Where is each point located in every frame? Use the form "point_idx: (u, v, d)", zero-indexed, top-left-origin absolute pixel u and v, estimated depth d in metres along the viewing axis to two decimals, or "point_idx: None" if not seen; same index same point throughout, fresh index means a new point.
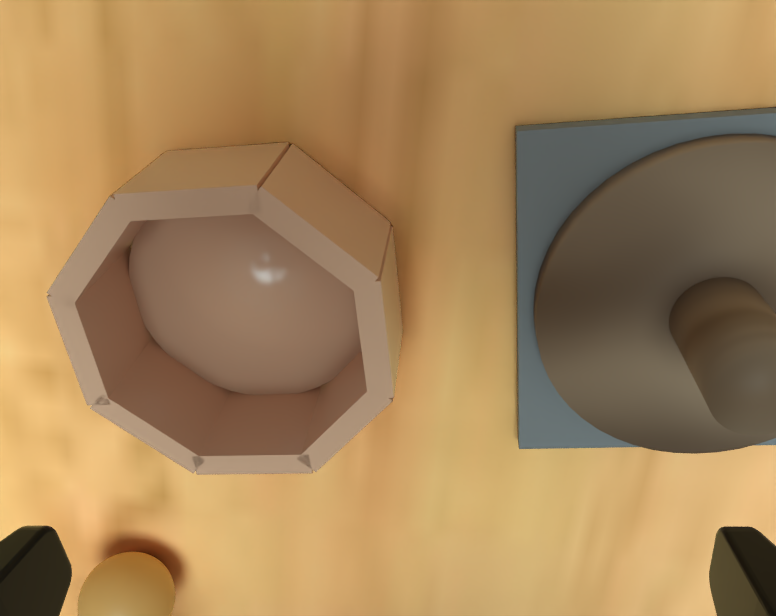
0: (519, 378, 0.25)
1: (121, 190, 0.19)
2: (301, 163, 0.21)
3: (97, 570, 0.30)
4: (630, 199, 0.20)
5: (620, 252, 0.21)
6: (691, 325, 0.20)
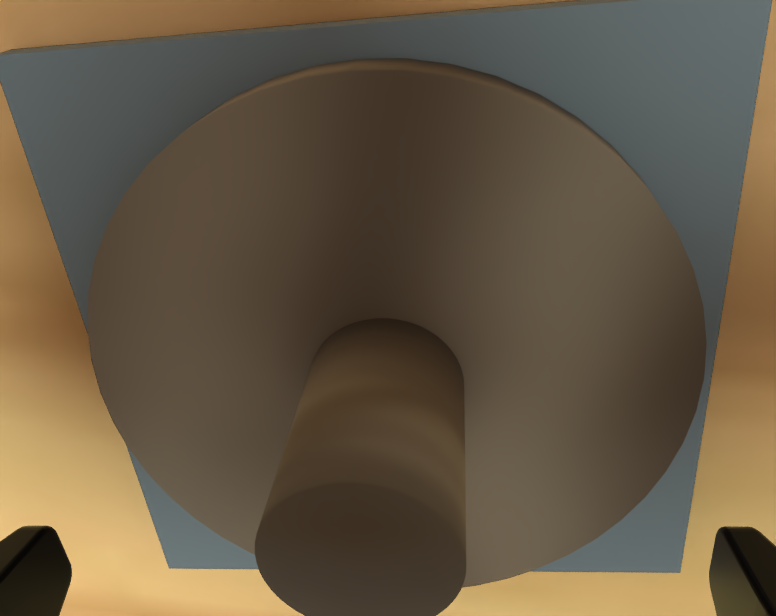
0: (535, 569, 0.16)
1: None
2: None
3: None
4: (205, 502, 0.15)
5: None
6: None
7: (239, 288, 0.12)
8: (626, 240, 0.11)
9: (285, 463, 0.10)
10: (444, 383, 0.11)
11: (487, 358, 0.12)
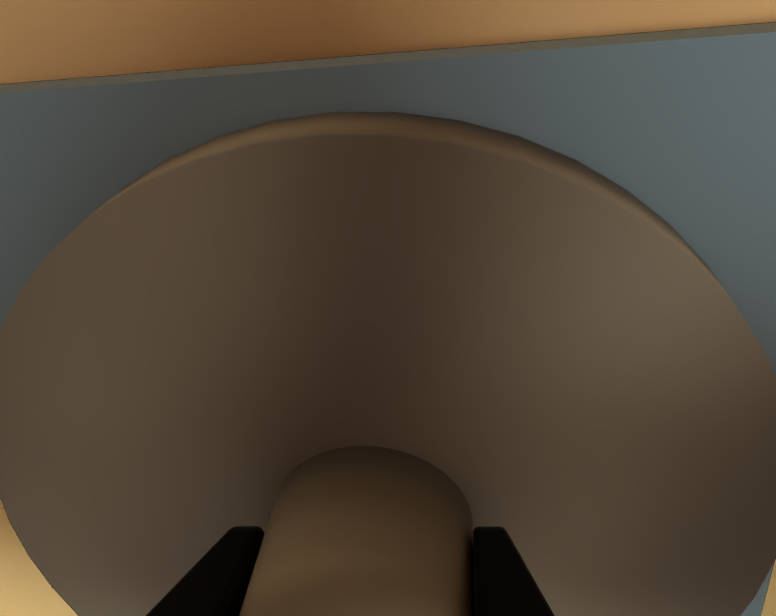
0: None
1: None
2: None
3: None
4: None
5: None
6: None
7: (179, 407, 0.09)
8: (694, 357, 0.08)
9: None
10: (447, 546, 0.08)
11: (503, 496, 0.09)
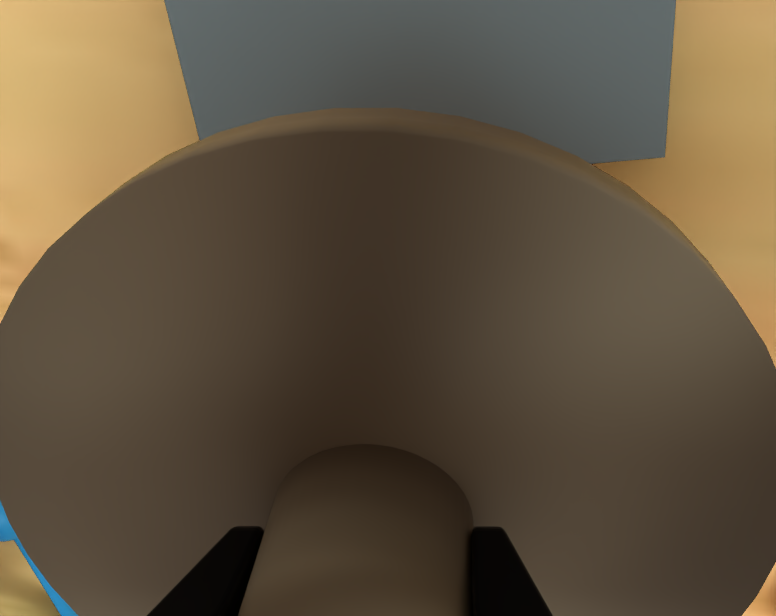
0: None
1: None
2: None
3: None
4: None
5: None
6: None
7: (178, 405, 0.09)
8: (695, 355, 0.08)
9: None
10: (448, 545, 0.08)
11: (504, 494, 0.09)
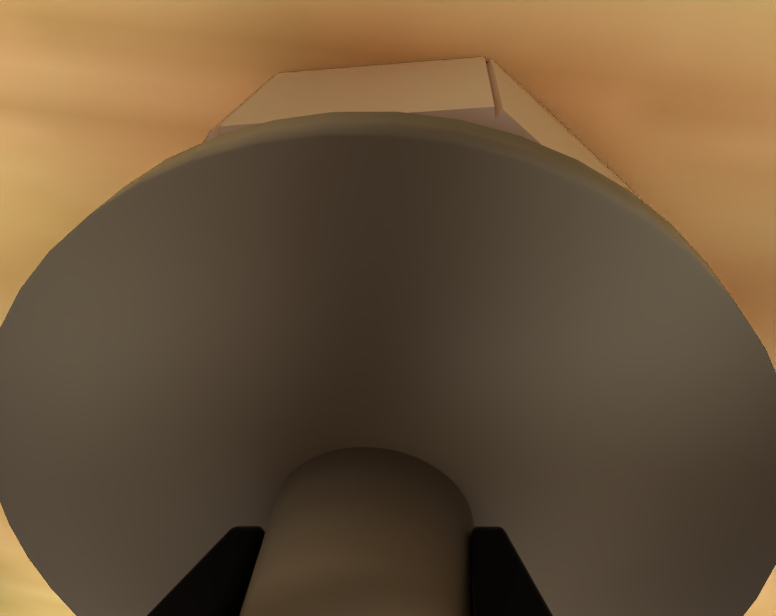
0: None
1: None
2: None
3: None
4: None
5: None
6: None
7: (178, 408, 0.09)
8: (695, 359, 0.08)
9: None
10: (448, 548, 0.08)
11: (504, 497, 0.09)
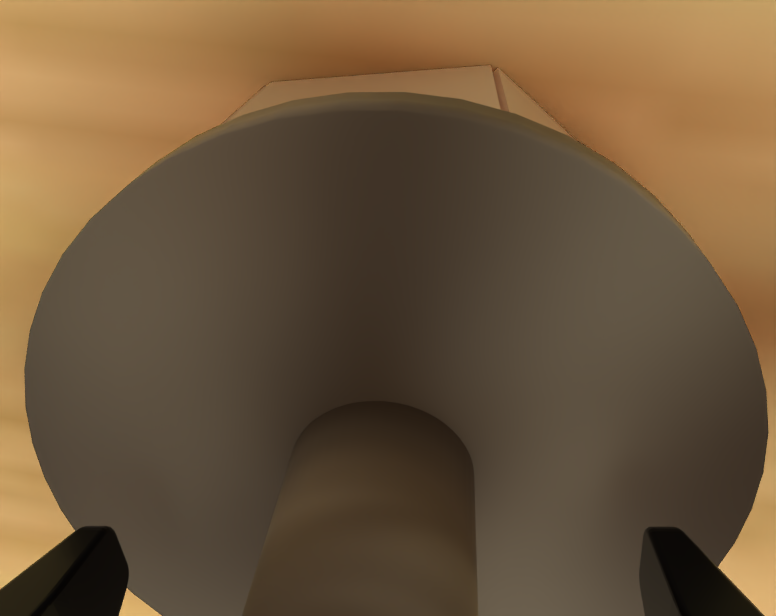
0: None
1: None
2: None
3: None
4: (172, 597, 0.13)
5: None
6: None
7: (204, 365, 0.10)
8: (675, 315, 0.09)
9: (251, 610, 0.08)
10: (451, 488, 0.09)
11: (501, 447, 0.10)
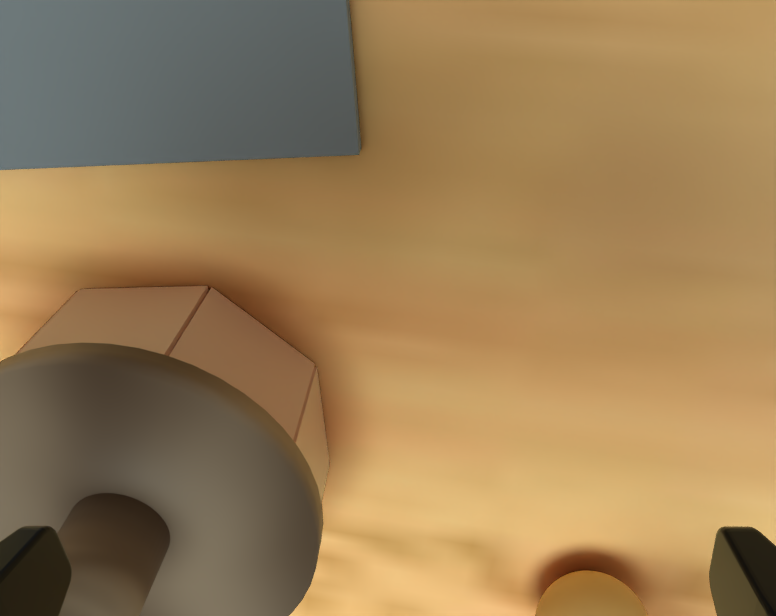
0: (239, 158, 0.18)
1: None
2: None
3: None
4: None
5: None
6: None
7: (15, 473, 0.19)
8: (247, 456, 0.18)
9: None
10: (135, 542, 0.18)
11: (180, 517, 0.19)
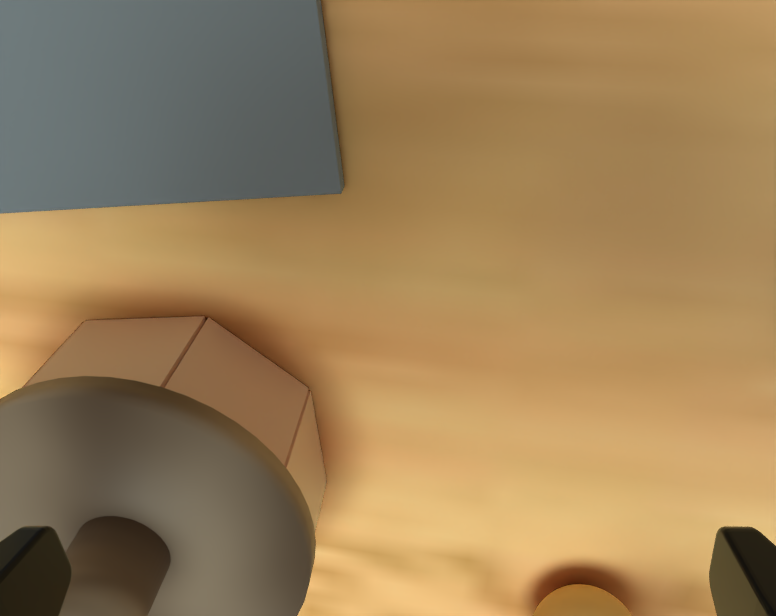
0: (228, 198, 0.20)
1: None
2: None
3: None
4: None
5: None
6: None
7: (25, 498, 0.20)
8: (238, 482, 0.19)
9: None
10: (136, 563, 0.19)
11: (179, 538, 0.20)
